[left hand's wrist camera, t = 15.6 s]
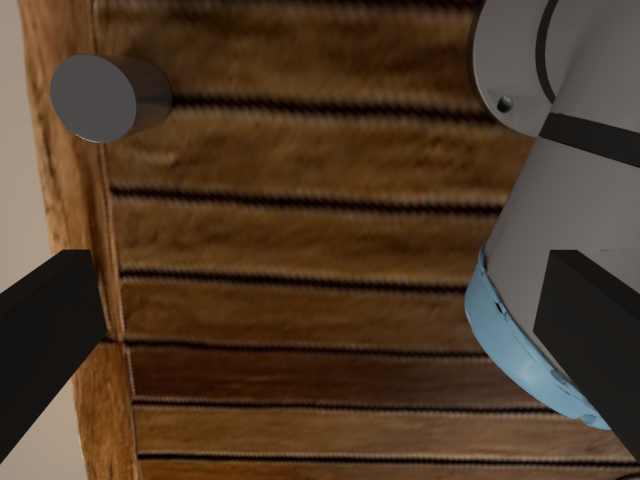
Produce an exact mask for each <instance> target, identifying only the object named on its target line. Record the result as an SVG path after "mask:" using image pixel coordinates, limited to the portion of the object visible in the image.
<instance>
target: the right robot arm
mask: <svg viewBox="0 0 640 480" xmlns="http://www.w3.org/2000/svg"><path fill="white" fill-rule="evenodd" d="M620 480H640V475H634V476H629V477H625V478H622V479H620Z"/></svg>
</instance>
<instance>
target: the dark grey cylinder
mask: <svg viewBox="0 0 640 480" xmlns="http://www.w3.org/2000/svg"><path fill="white" fill-rule="evenodd" d="M50 95H51V101H52V105H53V107H54V110H55V112H56V114H57V116H58V117H59V119H60V120H61V122H62V123H63V124H64V125H65V126H66V127H67V128H68V129H69V130H70V131H71V132H72V133H74V134H75V135H77V136H78V137H80V138H82V139H85V140H87V141H90V142H95V143H108V142H113V141H115V140H118V139H121V138H124V137H127V136H130V135H133V134H136V133H138V132H141V131H144V130H147V129H150V128H153V127H155V126H157V125H159V124H160V123H162V122H163V121H164V120H165V118H166V117H167V116H168V114H169V112H170V109H171V105H172V93H171V88H170V85H169V83H168V80H167V79H166V77H165V75H164V74H163V73H162V71H161V70H160V69H159V68H158V67H156V66H155V65H154V64H152V63H151V62H149V61H147V60H145V59H142V58H138V57H124V56H109V55H94V54H79V55H74V56H72V57H69V58H68V59H66V60H64V61H63V62H62V63H61V64H60V65H59V66H58V67H57V69H56V70H55V72H54V74H53V77H52V80H51V85H50Z"/></svg>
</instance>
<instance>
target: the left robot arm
mask: <svg viewBox="0 0 640 480" xmlns="http://www.w3.org/2000/svg"><path fill="white" fill-rule="evenodd" d="M467 67H468V74H469V79H470V83H471V86H472V89H473V91H474V93H475V96H476V98H477V99H478V101H479V103H480V105H481V106H482V107H483V109H484V110H485V111H486V112H487V113H488V115H489V116H490V117H491V118H493V119H494V120H495V121H496V122H497V123H499V124H500V125H502V126H503V127H505V128H507V129H509V130H511V131H514V132H517V133H520V134H523V135H526V136H529V137H533V138H536V140H535V142H534V144H533V146H532V148H531V150H530V152H529V154H528V156H527V159H526V161H525V163H524V165H523V167H522V169H521V171H520V173H519V176H518V178H517V180H516V182H515V184H514V186H513V188H512V190H511V192H510V195H509V197H508V199H507V201H506V203H505V205H504V207H503V209H502V212H501V214H500V216H499V218H498V220H497V222H496V224H495V226H494V228H493V231H492V233H491V235H490V237H489V239H488V241H485V242H484V243H483V245H482V246H481V249H480V251H479V256H478V263H477V265H476V268H475V271H474V273H473V276H472V278H471V281H470V283H469V286H468V288H467V291H466V294H465V312H466V315H467V318H468V321H469V323H470V324H471V328H472V332H473V333H474V335H475V337H476V339H477V340H478V342H479V343H480V345H481V346H482V348H483V349H484V350H485V352H486V353H487V354H488V355H489V356H490V358H491V359H492V360H493V361H494V362H495V363H496V364H497V365H498V366H499V367H500V368H501V369H502V370H503V371H504V372H505V373H506V374H507V375H508V376H509V377H510V378H511V379H512V380H513V381H515V382H516V383H517V384H518V385H519V386H520V387H522V388H523V389H524V390H525V391H527V392H528V393H529V394H531V395H532V396H534V397H535V398H536V399H538V400H539V401H541V402H542V403H544V404H545V405H547V406H548V407H550V408H552V409H553V410H555V411H557V412H559V413H561V414H563V415H565V416H567V417H569V418H571V419H576V418H580V419H582V420H583V421H584V422H585V423H586V424H587V425H588V426H592V427H595V428H600V429H605V430H612V431H613V432H614V433H615V434H616V436H617V437H618V438H619V439H620V441H621V442H622V443H623V444H624V446H625V447H626V448H627V449H628V451H629V452H630V453H631V454H632V455H633V457H634V458H635V459H636V460H637V462H638V463H639V464H640V0H481V2H480V4H479V6H478V9H477V11H476V13H475V16H474V19H473V22H472V25H471V29H470V33H469V38H468V45H467ZM548 139H549V140H548ZM552 140H553V141H552ZM555 141H556V142H555ZM558 142H559V143H558ZM561 143H562V144H561ZM568 145H569V146H568ZM571 146H572V147H571ZM574 147H575V148H574ZM606 157H607V158H606ZM609 158H610V159H609ZM106 333H107V327H106V322H105V318H104V313H103V308H102V304H101V299H100V294H99V290H98V285H97V280H96V276H95V271H94V266H93V262H92V257H91V253H90V250H62V251H60V252H59V253H57V254H56V255H55V256H53V257H52V258H50V259H49V260H48V261H46V262H45V263H43V264H42V265H41V266H39V267H38V268H36V269H35V270H33V271H32V272H30V273H29V274H28V275H26V276H25V277H23V278H22V279H20V280H19V281H18V282H16V283H15V284H13V285H12V286H11V287H9V288H8V289H6V290H5V291H3V292H2V293H1V294H0V464H1V463H2V462H3V460H4V459H5V458H6V457H7V455H8V454H9V453H10V452H11V450H12V449H13V448H14V447H15V446H16V444H17V443H18V442H19V441H20V439H21V438H22V437H23V436H24V434H25V433H26V432H27V431H28V430H29V428H30V427H31V426H32V425H33V423H34V422H35V421H36V420H37V418H38V417H39V416H40V415H41V413H42V412H43V411H44V410H45V408H46V407H47V406H48V405H49V404H50V402H51V401H52V400H53V399H54V397H55V396H56V395H57V394H58V392H59V391H60V390H61V389H62V387H63V386H64V385H65V384H66V382H67V381H68V380H69V379H70V378H71V376H72V375H73V374H74V373H75V371H76V370H77V369H78V368H79V366H80V365H81V364H82V363H83V362H84V360H85V359H86V358H87V357H88V355H89V354H90V353H91V352H92V350H93V349H94V348H95V347H96V345H97V344H98V343H99V342H100V341H101V339H102V338H103V337H104V336H105V334H106Z"/></svg>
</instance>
